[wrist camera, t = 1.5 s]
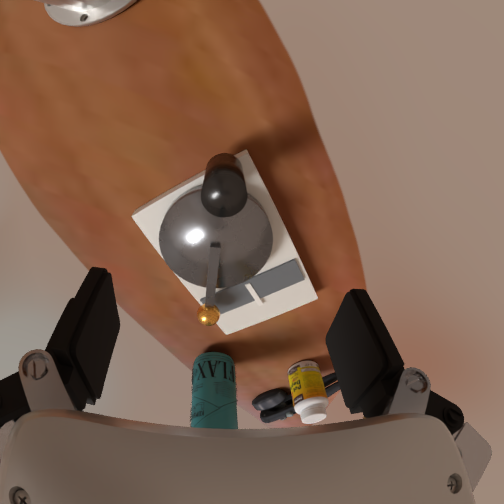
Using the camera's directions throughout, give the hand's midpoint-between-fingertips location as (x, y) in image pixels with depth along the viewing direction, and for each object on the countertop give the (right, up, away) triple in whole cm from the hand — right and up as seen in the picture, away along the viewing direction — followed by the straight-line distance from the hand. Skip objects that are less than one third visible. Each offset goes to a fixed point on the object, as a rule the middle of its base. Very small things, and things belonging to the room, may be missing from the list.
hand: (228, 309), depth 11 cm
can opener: (+10, -24, +40) cm, 48 cm away
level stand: (-1, +2, +21) cm, 21 cm away
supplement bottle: (+10, -18, +36) cm, 41 cm away
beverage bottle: (-5, -14, +32) cm, 35 cm away
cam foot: (-3, +4, +18) cm, 19 cm away
